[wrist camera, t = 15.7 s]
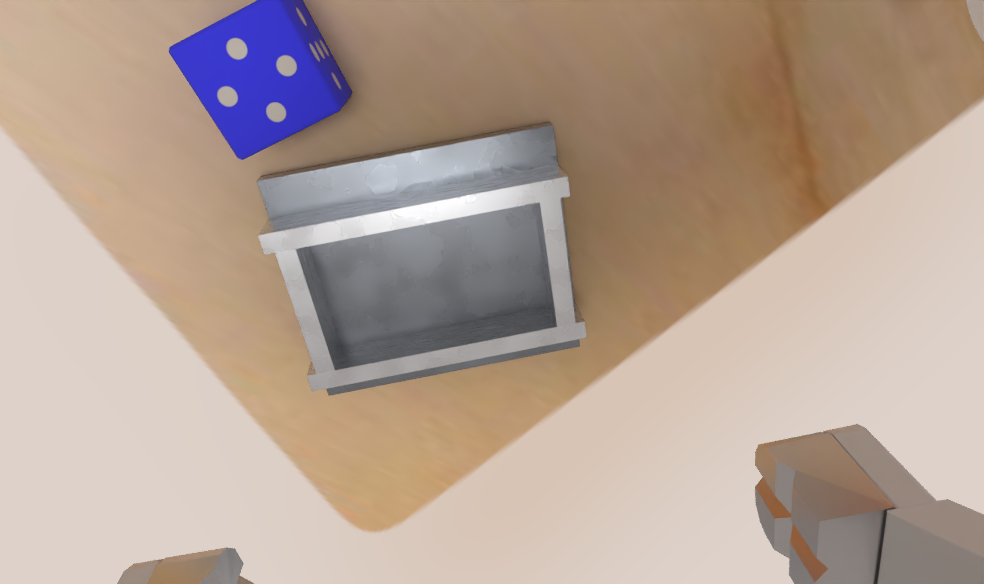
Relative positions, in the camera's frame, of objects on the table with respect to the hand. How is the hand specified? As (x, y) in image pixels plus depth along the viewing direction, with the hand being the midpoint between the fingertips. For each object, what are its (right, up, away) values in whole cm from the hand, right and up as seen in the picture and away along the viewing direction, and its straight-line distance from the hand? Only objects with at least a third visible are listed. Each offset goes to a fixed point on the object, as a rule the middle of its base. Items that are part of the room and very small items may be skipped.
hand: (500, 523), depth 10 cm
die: (-10, +14, +21) cm, 27 cm away
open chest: (-3, +5, +25) cm, 26 cm away
